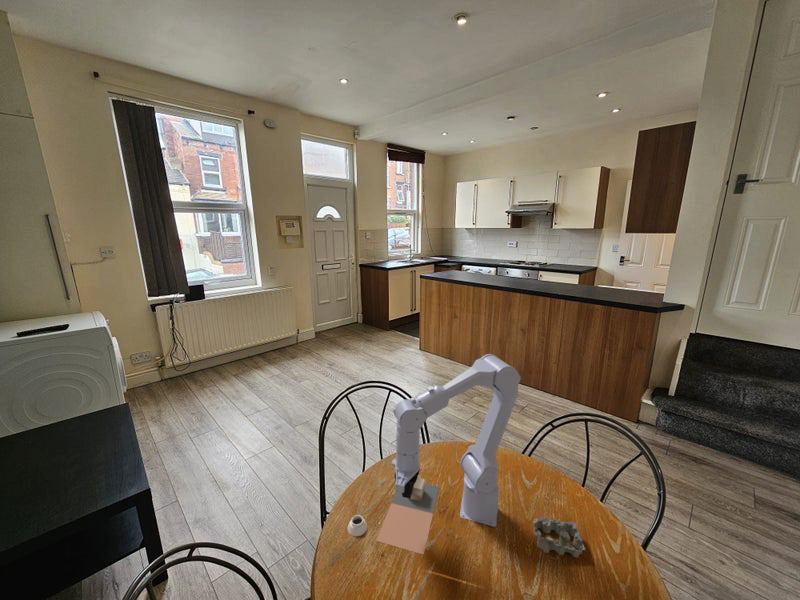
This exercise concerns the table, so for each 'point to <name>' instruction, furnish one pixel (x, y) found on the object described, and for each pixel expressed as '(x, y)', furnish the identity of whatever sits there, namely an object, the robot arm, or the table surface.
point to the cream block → (418, 489)
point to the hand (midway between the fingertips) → (407, 495)
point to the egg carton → (564, 538)
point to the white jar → (357, 526)
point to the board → (409, 521)
